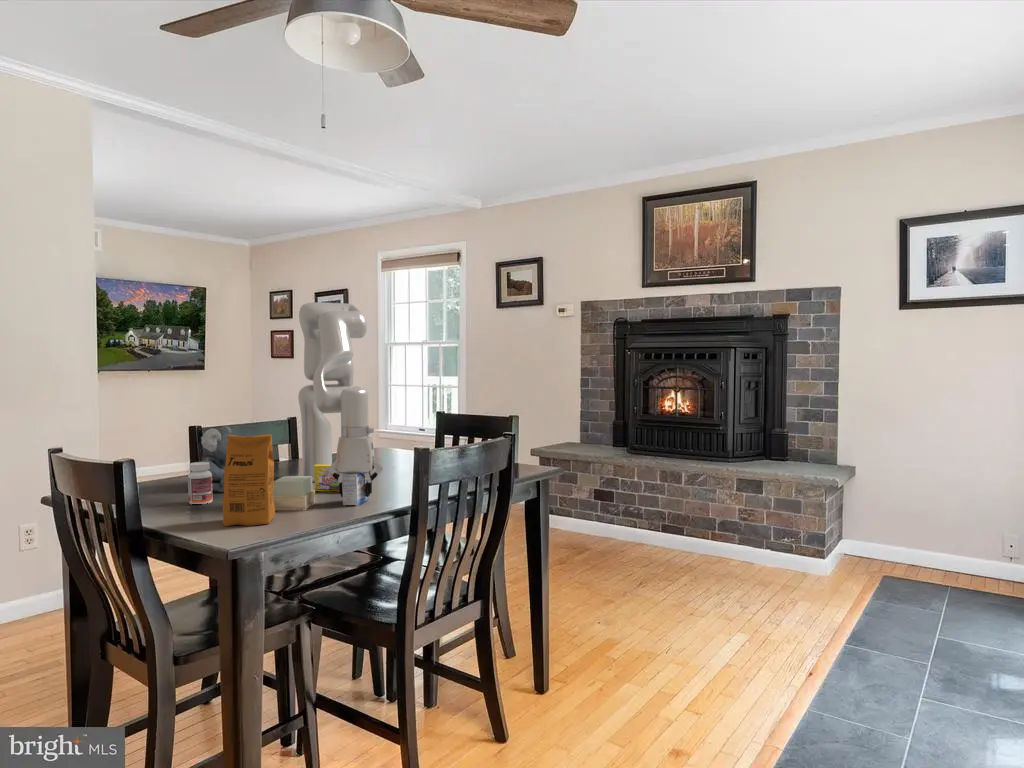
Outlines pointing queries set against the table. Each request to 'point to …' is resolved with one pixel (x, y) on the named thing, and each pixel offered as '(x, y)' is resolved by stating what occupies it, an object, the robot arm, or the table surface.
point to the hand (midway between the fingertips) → (355, 495)
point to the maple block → (294, 501)
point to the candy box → (325, 479)
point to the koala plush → (216, 454)
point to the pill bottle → (200, 483)
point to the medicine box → (354, 488)
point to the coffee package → (248, 481)
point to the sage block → (292, 486)
